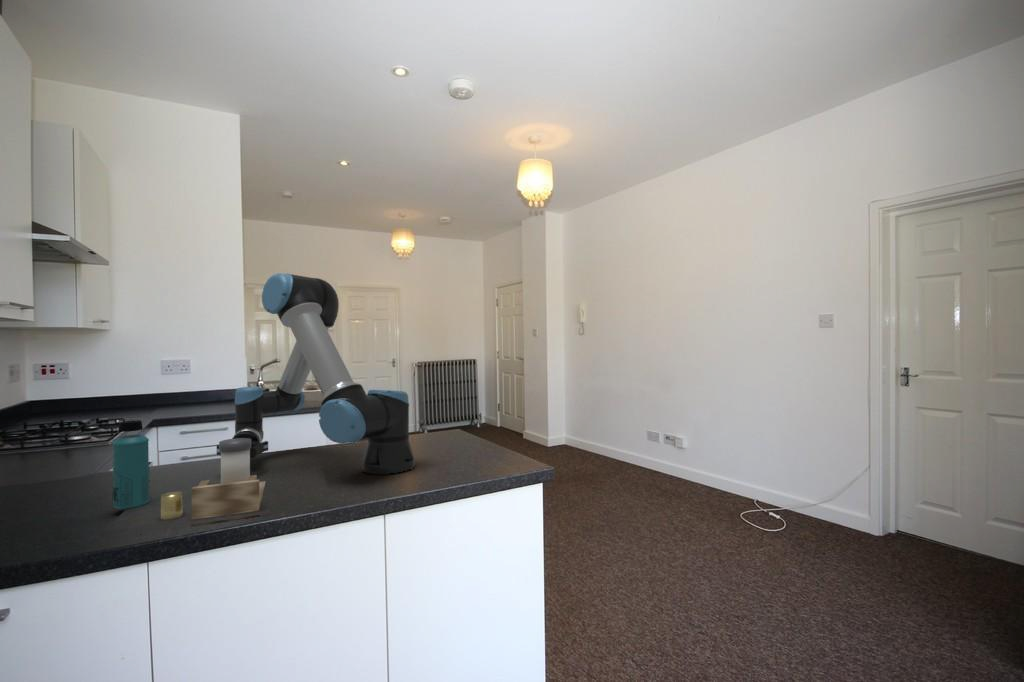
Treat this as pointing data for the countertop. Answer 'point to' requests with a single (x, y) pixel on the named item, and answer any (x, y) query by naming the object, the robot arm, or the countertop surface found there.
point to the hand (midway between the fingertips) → (235, 460)
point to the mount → (226, 499)
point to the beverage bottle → (130, 467)
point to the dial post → (171, 505)
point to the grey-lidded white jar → (235, 459)
